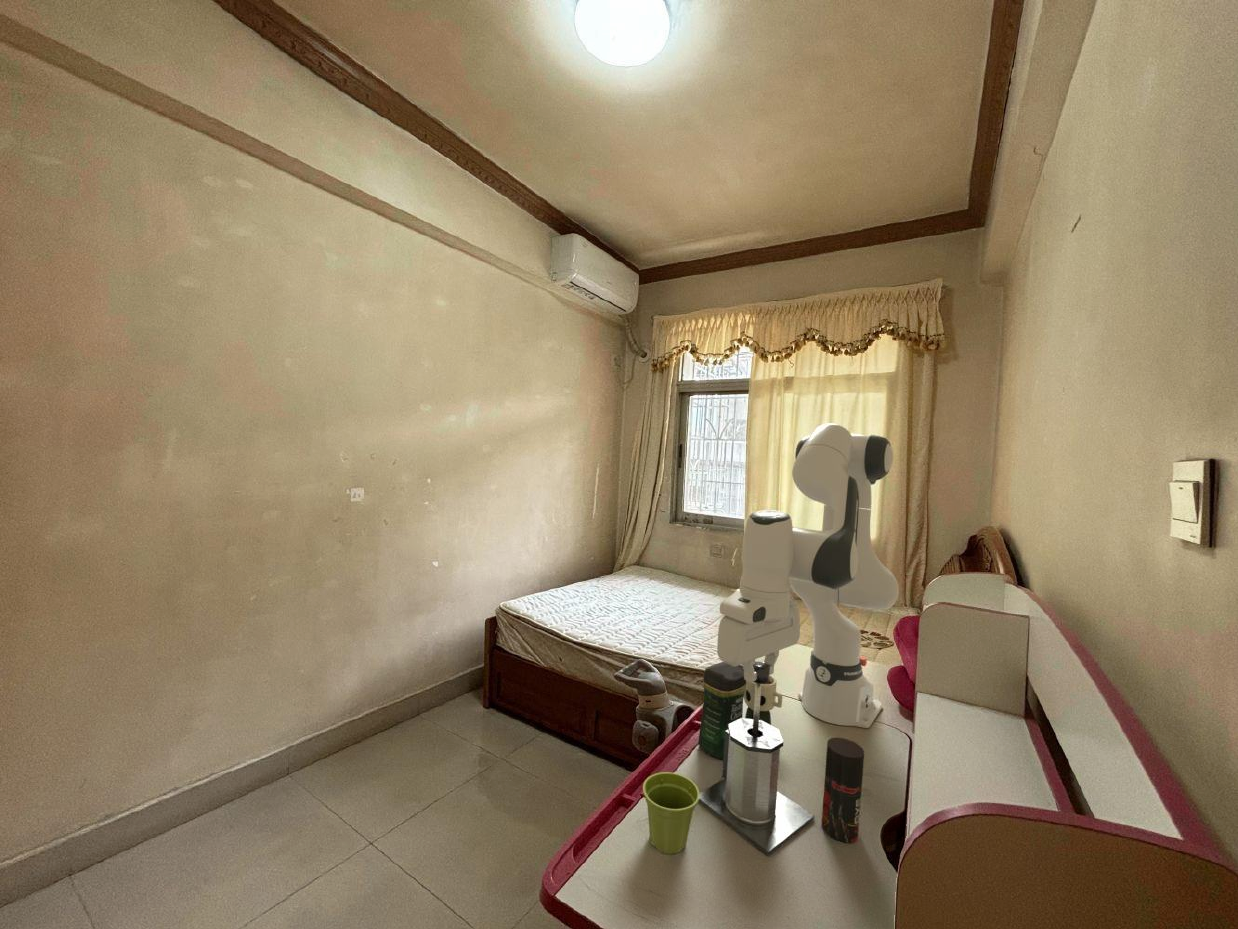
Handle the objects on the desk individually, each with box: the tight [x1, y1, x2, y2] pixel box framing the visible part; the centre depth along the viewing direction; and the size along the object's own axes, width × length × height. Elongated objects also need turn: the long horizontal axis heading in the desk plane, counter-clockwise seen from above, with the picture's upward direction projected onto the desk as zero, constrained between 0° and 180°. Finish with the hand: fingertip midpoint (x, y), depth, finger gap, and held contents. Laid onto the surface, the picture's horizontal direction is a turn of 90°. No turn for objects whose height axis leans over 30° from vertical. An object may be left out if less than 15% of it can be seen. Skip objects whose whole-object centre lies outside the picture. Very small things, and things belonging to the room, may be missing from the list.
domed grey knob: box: [752, 660, 770, 737], centre depth 91 cm, size 4×4×14 cm
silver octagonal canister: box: [698, 717, 815, 857], centre depth 92 cm, size 14×16×15 cm
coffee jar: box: [698, 661, 746, 760], centre depth 111 cm, size 10×8×19 cm
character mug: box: [743, 674, 783, 726], centre depth 118 cm, size 11×7×13 cm, turn 48°
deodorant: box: [821, 737, 865, 845], centre depth 88 cm, size 6×6×15 cm
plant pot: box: [642, 771, 700, 855], centre depth 84 cm, size 9×9×9 cm
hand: (758, 677), depth 91 cm, fingers closed on domed grey knob, 4 cm apart
